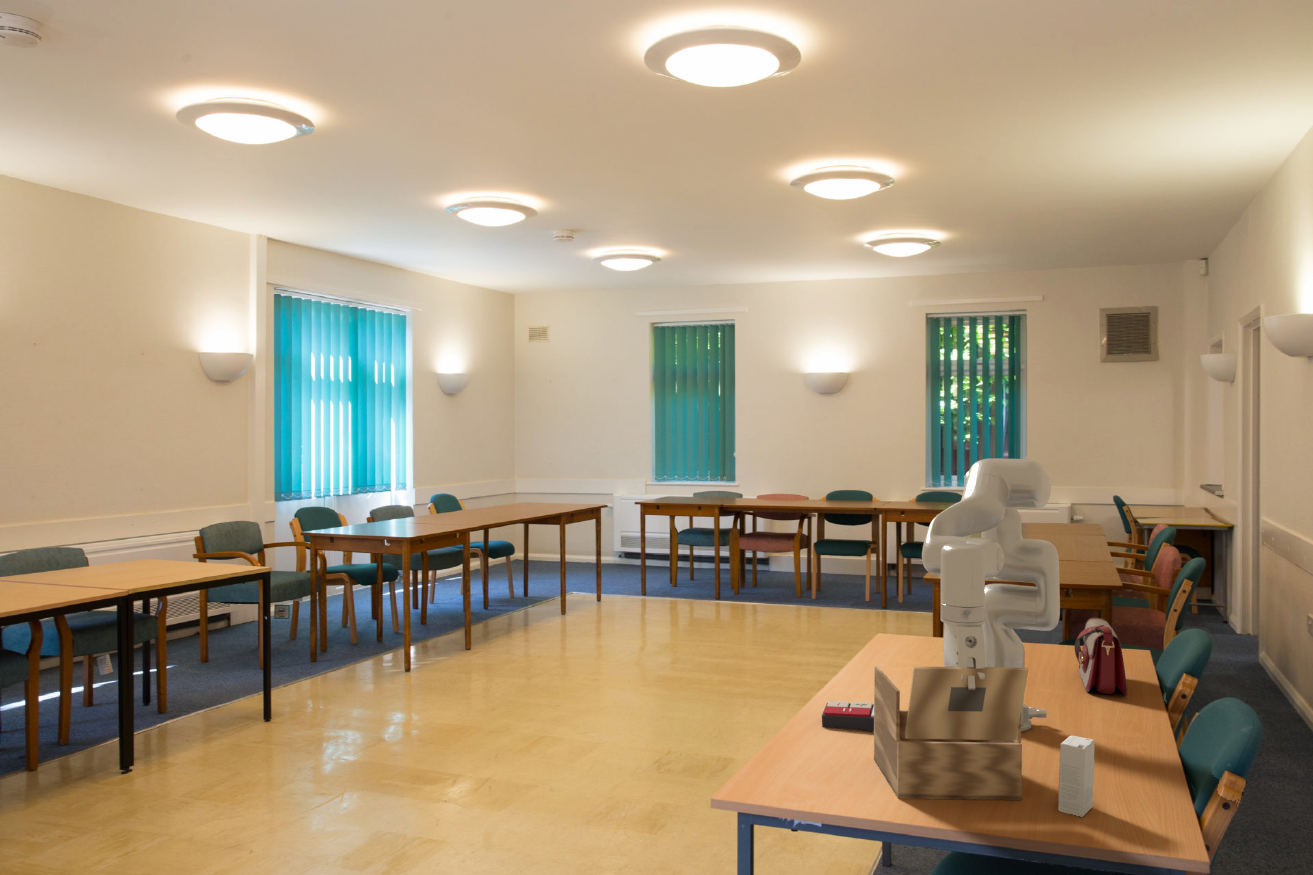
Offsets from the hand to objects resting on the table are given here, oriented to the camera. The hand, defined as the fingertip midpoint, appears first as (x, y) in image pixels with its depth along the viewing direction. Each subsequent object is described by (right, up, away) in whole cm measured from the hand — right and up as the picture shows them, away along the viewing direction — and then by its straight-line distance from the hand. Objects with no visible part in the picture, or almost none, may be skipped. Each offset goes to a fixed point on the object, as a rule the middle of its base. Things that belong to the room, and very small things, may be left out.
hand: (962, 714), depth 165 cm
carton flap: (0, +3, -2) cm, 4 cm away
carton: (0, -15, +10) cm, 18 cm away
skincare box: (+18, -16, -4) cm, 25 cm away
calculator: (-9, -16, +44) cm, 47 cm away
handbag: (+62, -16, +78) cm, 101 cm away
